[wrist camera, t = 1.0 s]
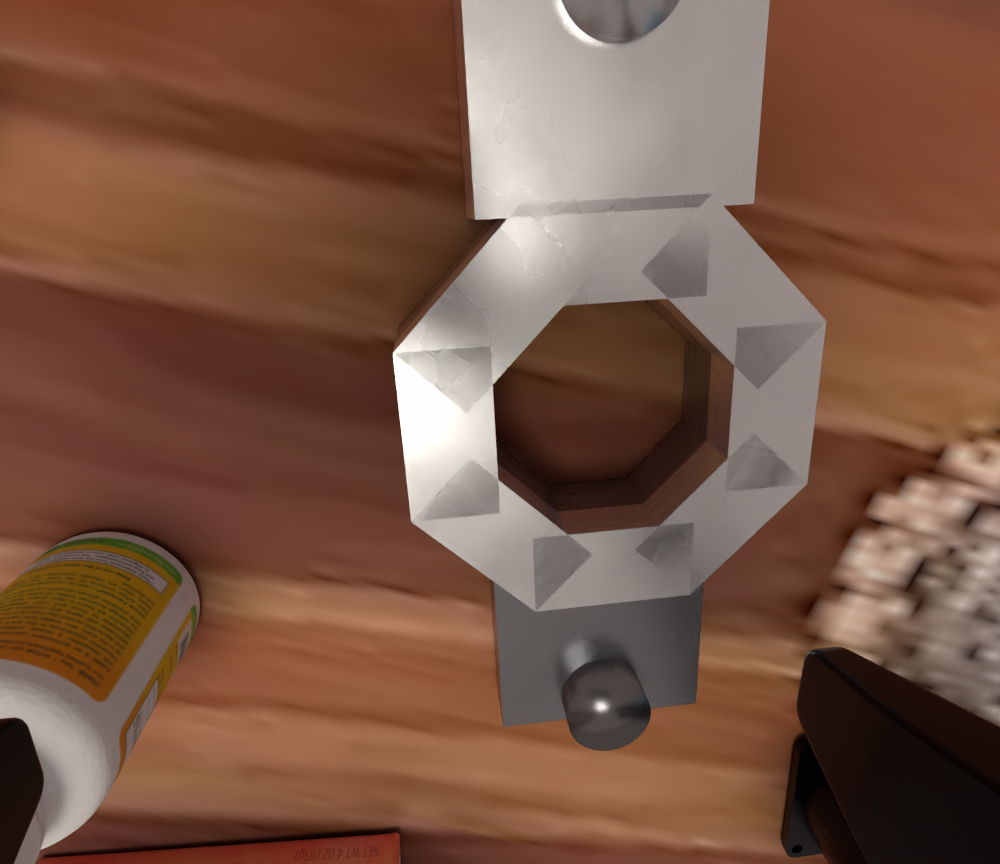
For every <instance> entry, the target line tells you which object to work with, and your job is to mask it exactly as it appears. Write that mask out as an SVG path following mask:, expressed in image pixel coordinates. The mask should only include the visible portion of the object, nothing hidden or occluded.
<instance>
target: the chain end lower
mask: <svg viewBox="0 0 1000 864" xmlns="http://www.w3.org/2000/svg"><path fill="white" fill-rule="evenodd" d="M499 219H500V218H499ZM499 219H491V220H490V221H489V222H488V223H487V224H486V225H485V227H484V228H483V229H482V230H481V231H480V233H479V234H478V235H477V236H476V237H475V238H474V240H473V241H472V242H471V243H470V244H469V246H468V247H467V248H466V249H465V250H464V251H463V253H462V254H461V255H460V256H459V257H458V259H457V260H456V261H455V262H454V263H453V265H452V266H451V267H450V268H449V269H448V270H447V272H446V273H445V274H444V275H443V276H442V278H441V279H440V280H439V281H438V282H437V283H436V285H435V286H434V287H433V288H432V289H431V291H430V292H429V293H428V294H427V295H426V296H425V298H424V299H423V300H422V301H421V302H420V304H419V305H418V306H417V307H416V308H415V309H414V311H413V312H412V313H411V314H410V315H409V317H408V318H407V319H406V320H405V321H404V322H403V324H402V325H401V326H400V327H399V328H398V332H397V337H396V340H397V339H398V338H399V337H400V335H401V334H402V333H403V332H404V331H405V330H406V328H407V327H408V326H409V325H410V324H411V323H412V321H413V320H414V319H415V318H416V317H417V315H418V314H419V313H420V312H421V311H422V310H423V308H424V307H425V306H426V305H427V304H428V302H429V301H430V300H431V299H432V298H433V297H434V295H435V294H436V293H437V292H438V291H439V290H440V288H441V287H442V286H443V285H444V284H445V282H446V281H447V280H448V279H449V278H450V277H451V275H452V274H453V273H454V272H455V271H456V269H457V268H458V267H459V266H460V265H461V264H462V262H463V261H464V260H465V259H466V258H467V257H468V255H469V254H470V253H471V252H472V251H473V249H474V248H475V247H476V246H477V245H478V244H479V242H480V241H481V240H482V239H483V238H484V236H485V235H486V234H487V233H488V232H489V231H490V229H491V228H492V227H493V226H494V225H495V224H496V222H497V221H498V220H499ZM646 301H647V302H648V303H649V304H650V305H651V306H652V307H653V308H654V309H655V310H656V311H657V312H658V313H659V314H660V315H661V316H662V317H663V318H664V319H665V320H666V321H667V322H668V323H669V324H670V325H671V326H672V327H673V328H674V329H675V330H676V331H677V332H678V333H679V334H680V335H681V336H682V337H683V338H684V339H685V340H686V345H685V367H684V389H683V410H682V421H681V422H680V423H679V424H678V425H677V426H676V427H675V428H674V429H673V430H672V431H671V432H670V433H669V434H668V435H667V436H666V437H665V438H664V439H663V440H662V441H661V442H660V443H659V444H658V445H657V446H656V447H655V448H654V449H653V451H652V452H651V453H650V454H649V455H648V456H647V457H646V458H645V459H644V460H643V461H642V462H641V463H640V464H639V465H638V466H637V467H636V468H635V469H634V470H633V471H632V472H631V473H630V474H629V475H628V476H627V477H626V478H623V479H612V480H601V481H591V482H580V483H569V484H558V485H546V484H544V483H543V482H542V481H541V480H539V479H538V478H537V477H536V476H534V475H533V474H532V473H531V472H529V471H528V470H527V469H526V468H525V467H523V466H522V465H521V464H520V463H518V462H517V461H516V460H515V459H513V458H512V457H511V456H510V455H508V454H507V453H506V452H505V451H504V450H502V449H501V448H500V447H499V446H497V445H496V450H497V463H498V464H499V465H500V466H501V467H503V468H504V469H505V470H506V471H508V472H509V473H510V474H511V475H513V476H514V477H515V478H516V479H518V480H519V481H520V482H521V483H523V484H524V485H525V486H526V487H528V488H529V489H530V490H531V491H533V492H534V493H535V494H536V495H538V496H539V497H540V498H541V499H543V500H544V501H545V502H546V503H548V504H549V505H550V506H551V507H553V508H554V509H555V510H556V511H558V512H561V511H571V510H582V509H592V508H603V507H613V506H623V505H634V504H644V503H645V502H646V501H647V500H648V499H649V498H650V497H651V496H652V495H653V494H654V493H655V492H656V491H657V490H658V489H659V488H660V487H661V486H662V485H663V484H664V483H665V482H666V481H667V480H668V479H669V478H670V477H671V476H672V475H673V474H674V473H675V472H676V471H677V470H678V469H679V468H680V467H681V466H682V465H683V464H684V463H685V462H686V461H687V460H688V459H689V458H690V457H691V456H692V455H693V454H694V453H695V452H696V451H697V450H698V449H699V448H700V447H701V446H702V445H703V444H704V443H705V442H706V437H707V420H708V404H709V387H710V370H711V353H710V352H709V351H708V350H707V349H706V348H705V347H704V346H703V345H702V344H701V343H700V342H699V341H698V340H697V339H696V338H695V337H694V336H693V335H692V334H691V333H690V332H689V331H688V330H687V329H686V328H685V327H684V326H683V325H682V324H681V323H680V322H679V321H678V320H677V319H676V318H675V317H674V316H673V315H672V314H671V313H670V312H669V311H668V310H667V309H666V308H665V307H664V306H663V305H662V304H661V303H660V302H659V301H658V300H657V299H654V300H646ZM490 582H491V597H492V612H493V627H494V642H495V658H496V673H497V687H498V694H499V701H500V708H501V715H502V721H503V727H506V726H514V725H522V724H530V723H538V722H546V721H554V720H562V719H567V721H568V725H569V729H570V732H571V734H572V736H573V737H574V739H575V740H576V741H577V742H578V743H580V744H581V745H583V746H585V747H587V748H589V749H593V750H601V751H606V750H613V749H617V748H621V747H623V746H626V745H628V744H629V743H631V742H633V741H634V740H635V739H637V738H638V737H639V736H640V735H641V734H642V733H643V731H644V730H645V729H646V727H647V725H648V723H649V720H650V715H651V708H659V707H668V706H676V705H684V704H692V703H696V691H697V676H698V660H699V644H700V629H701V613H702V597H703V583H702V584H701V585H700V586H699V587H698V588H697V589H695V590H694V591H693V592H692V593H691V594H690V595H684V596H675V597H666V598H657V599H648V600H638V601H629V602H620V603H611V604H602V605H593V606H583V607H574V608H565V609H556V610H547V611H538V612H535V611H534V610H532V609H531V608H530V607H528V606H527V605H526V604H524V603H523V602H521V601H520V600H519V599H517V598H516V597H514V596H513V595H512V594H510V593H509V592H508V591H506V590H505V589H503V588H502V587H501V586H499V585H498V584H496V583H495V582H494V581H492V580H491V579H490Z"/></svg>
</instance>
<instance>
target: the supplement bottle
mask: <svg viewBox="0 0 1000 864" xmlns="http://www.w3.org/2000/svg"><path fill="white" fill-rule="evenodd" d="M199 615H200V600H199V595H198V591H197V588H196V586H195V583H194V581H193V579H192V577H191V576H190V574H189V573H188V571H187V570H186V569H185V567H184V566H183V565H182V564H181V563H180V562H179V561H178V560H177V559H176V558H175V557H174V556H173V555H171V554H170V553H169V552H167V551H166V550H165V549H163V548H161V547H160V546H158V545H156V544H154V543H152V542H150V541H148V540H146V539H143V538H140V537H138V536H134V535H130V534H126V533H119V532H94V533H87V534H82V535H79V536H75V537H72V538H69V539H67V540H65V541H62V542H60V543H59V544H57V545H55V546H54V547H52V548H51V549H49V550H48V551H47V552H46V553H44V554H43V555H42V556H41V557H39V558H38V559H37V560H36V561H35V562H34V563H33V564H31V565H30V566H29V567H28V568H27V569H26V570H25V571H24V572H23V573H22V574H21V575H20V576H19V577H18V578H16V579H15V580H14V581H13V582H12V583H11V584H10V585H9V586H8V587H7V588H5V589H4V590H3V591H2V592H1V593H0V719H2V718H19V719H22V720H23V721H24V722H25V723H26V724H27V725H28V727H29V730H30V733H31V736H32V739H33V742H34V745H35V748H36V751H37V754H38V757H39V761H40V764H41V767H42V770H43V774H44V787H43V792H42V796H41V799H40V802H39V804H38V807H37V809H36V811H35V814H34V816H33V819H32V821H31V824H30V826H29V828H28V831H27V833H26V836H25V838H24V841H23V843H22V846H21V848H20V850H19V853H18V855H17V858H16V860H15V863H14V864H35V862H36V860H37V858H38V855H39V852H40V850H41V849H44V848H46V847H49V846H51V845H53V844H55V843H56V842H58V841H60V840H62V839H63V838H65V837H67V836H68V835H70V834H71V833H72V832H74V831H75V830H77V829H78V828H79V827H80V826H82V825H83V824H84V823H85V822H86V821H87V820H88V819H89V818H90V817H91V816H92V815H93V814H94V812H95V811H96V810H97V809H98V808H99V806H100V805H101V803H102V802H103V800H104V799H105V797H106V795H107V794H108V792H109V790H110V789H111V787H112V786H113V784H114V782H115V780H116V779H117V777H118V775H119V773H120V771H121V769H122V767H123V765H124V763H125V762H126V760H127V758H128V756H129V754H130V752H131V750H132V748H133V747H134V745H135V743H136V741H137V739H138V738H139V736H140V734H141V732H142V730H143V728H144V727H145V725H146V723H147V721H148V719H149V718H150V716H151V714H152V712H153V710H154V708H155V706H156V704H157V702H158V700H159V699H160V697H161V695H162V693H163V691H164V689H165V688H166V686H167V684H168V682H169V680H170V678H171V677H172V675H173V673H174V671H175V669H176V667H177V665H178V663H179V661H180V660H181V658H182V656H183V654H184V653H185V651H186V649H187V647H188V645H189V643H190V641H191V639H192V637H193V635H194V632H195V630H196V627H197V624H198V620H199Z"/></svg>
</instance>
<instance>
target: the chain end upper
mask: <svg viewBox="0 0 1000 864" xmlns="http://www.w3.org/2000/svg"><path fill="white" fill-rule="evenodd" d="M769 2H770V0H452V4H453V20H454V35H455V50H456V65H457V80H458V96H459V111H460V126H461V141H462V156H463V172H464V187H465V202H466V217H467V218H470V219H474V220H481V219H499V218H500V219H499V220H498V221H497V222H496V224H495V225H494V226H493V227H492V228H491V229H490V231H489V232H488V233H487V234H486V235H485V236H484V238H483V239H482V240H481V241H480V242H479V244H478V245H477V246H476V247H475V248H474V249H473V251H472V252H471V253H470V254H469V255H468V257H467V258H466V259H465V260H464V261H463V262H462V264H461V265H460V266H459V267H458V268H457V269H456V271H455V272H454V273H453V274H452V275H451V277H450V278H449V279H448V280H447V281H446V282H445V284H444V285H443V286H442V287H441V288H440V290H439V291H438V292H437V293H436V294H435V295H434V297H433V298H432V299H431V300H430V301H429V302H428V304H427V305H426V306H425V307H424V308H423V310H422V311H421V312H420V313H419V314H418V315H417V317H416V318H415V319H414V320H413V321H412V323H411V324H410V325H409V326H408V327H407V328H406V330H405V331H404V332H403V333H402V334H401V335H400V337H399V338H398V339H397V340H396V341H395V345H394V350H393V361H394V370H395V379H396V388H397V397H398V406H399V415H400V424H401V433H402V442H403V451H404V461H405V470H406V479H407V488H408V497H409V506H410V515H411V522H412V523H413V524H415V525H416V526H418V527H419V528H420V529H422V530H423V531H424V532H426V533H427V534H429V535H430V536H431V537H433V538H434V539H436V540H437V541H438V542H440V543H441V544H442V545H444V546H445V547H447V548H448V549H449V550H451V551H452V552H454V553H455V554H456V555H458V556H459V557H460V558H462V559H463V560H465V561H466V562H467V563H469V564H470V565H472V566H473V567H474V568H476V569H477V570H478V571H480V572H481V573H483V574H484V575H485V576H487V577H488V578H490V579H491V580H492V581H494V582H495V583H496V584H498V585H499V586H501V587H502V588H503V589H505V590H506V591H508V592H509V593H510V594H512V595H513V596H514V597H516V598H517V599H519V600H520V601H521V602H523V603H524V604H526V605H527V606H528V607H530V608H531V609H532V610H534V611H535V612H538V611H547V610H556V609H565V608H574V607H583V606H593V605H602V604H611V603H620V602H629V601H638V600H648V599H657V598H666V597H675V596H684V595H690V594H691V593H692V592H693V591H694V590H695V589H697V588H698V587H699V586H700V585H701V584H702V583H703V582H704V581H705V580H706V579H707V578H708V577H709V576H710V575H711V574H712V573H713V572H715V571H716V570H717V569H718V568H719V567H720V566H721V565H722V564H723V563H724V562H725V561H726V560H727V559H728V558H729V557H730V556H731V555H733V554H734V553H735V552H736V551H737V550H738V549H739V548H740V547H741V546H742V545H743V544H744V543H745V542H746V541H747V540H748V539H749V538H751V537H752V536H753V535H754V534H755V533H756V532H757V531H758V530H759V529H760V528H761V527H762V526H763V525H764V524H765V523H766V522H767V521H769V520H770V519H771V518H772V517H773V516H774V515H775V514H776V513H777V512H778V511H779V510H780V509H781V508H782V507H783V506H784V505H785V504H787V503H788V502H789V501H790V500H791V499H792V498H793V497H794V496H795V495H796V494H797V493H798V492H799V491H800V490H801V489H802V488H803V487H805V486H806V485H807V481H808V472H809V464H810V456H811V447H812V439H813V431H814V422H815V414H816V406H817V397H818V389H819V381H820V372H821V364H822V355H823V347H824V339H825V330H826V322H827V321H826V320H825V319H824V318H823V317H822V315H821V314H820V313H819V312H818V311H817V310H816V309H815V308H814V307H813V305H812V304H811V303H810V302H809V301H808V300H807V299H806V298H805V296H804V295H803V294H802V293H801V292H800V291H799V290H798V289H797V288H796V286H795V285H794V284H793V283H792V282H791V281H790V280H789V279H788V277H787V276H786V275H785V274H784V273H783V272H782V271H781V270H780V269H779V267H778V266H777V265H776V264H775V263H774V262H773V261H772V260H771V259H770V257H769V256H768V255H767V254H766V253H765V252H764V251H763V250H762V248H761V247H760V246H759V245H758V244H757V243H756V242H755V241H754V240H753V238H752V237H751V236H750V235H749V234H748V233H747V232H746V231H745V229H744V228H743V227H742V226H741V225H740V224H739V223H738V222H737V221H736V219H735V218H734V217H733V216H732V215H731V214H730V213H729V212H728V210H727V209H726V208H725V207H724V206H726V205H743V204H754V197H755V184H756V171H757V158H758V145H759V132H760V119H761V106H762V93H763V80H764V67H765V54H766V41H767V28H768V15H769ZM654 299H657V300H658V301H659V302H660V303H661V304H662V305H663V306H664V307H665V308H666V309H667V310H668V311H669V312H670V313H671V314H672V315H673V316H674V317H675V318H676V319H677V320H678V321H679V322H680V323H681V324H682V325H683V326H684V327H685V328H686V329H687V330H688V331H689V332H690V333H691V334H692V335H693V336H694V337H695V338H696V339H697V340H698V341H699V342H700V343H701V344H702V345H703V346H704V347H705V348H706V349H707V350H708V351H709V352H710V353H711V370H710V387H709V404H708V420H707V437H706V442H705V443H704V444H703V445H702V446H701V447H700V448H699V449H698V450H697V451H696V452H695V453H694V454H693V455H692V456H691V457H690V458H689V459H688V460H687V461H686V462H685V463H684V464H683V465H682V466H681V467H680V468H679V469H678V470H677V471H676V472H675V473H674V474H673V475H672V476H671V477H670V478H669V479H668V480H667V481H666V482H665V483H664V484H663V485H662V486H661V487H660V488H659V489H658V490H657V491H656V492H655V493H654V494H653V495H652V496H651V497H650V498H649V499H648V500H647V501H646V502H645V503H644V504H634V505H623V506H613V507H603V508H592V509H582V510H571V511H561V512H558V511H556V510H555V509H554V508H553V507H551V506H550V505H549V504H548V503H546V502H545V501H544V500H543V499H541V498H540V497H539V496H538V495H536V494H535V493H534V492H533V491H531V490H530V489H529V488H528V487H526V486H525V485H524V484H523V483H521V482H520V481H519V480H518V479H516V478H515V477H514V476H513V475H511V474H510V473H509V472H508V471H506V470H505V469H504V468H503V467H501V466H500V465H499V464H498V463H497V450H496V433H495V416H494V398H493V384H494V383H495V382H496V381H497V379H498V378H499V377H500V376H501V375H502V374H503V373H504V372H505V371H506V369H507V368H508V367H509V366H510V365H511V364H512V363H513V362H514V361H515V359H516V358H517V357H518V356H519V355H520V354H521V353H522V352H523V351H524V349H525V348H526V347H527V346H528V345H529V344H530V343H531V342H532V341H533V339H534V338H535V337H536V336H537V335H538V334H539V333H540V332H541V331H542V329H543V328H544V327H545V326H546V325H547V324H548V323H549V322H550V321H551V319H552V318H553V317H554V316H555V315H556V314H557V313H558V312H559V311H560V309H561V308H562V307H563V306H567V305H582V304H596V303H611V302H625V301H639V300H654Z"/></svg>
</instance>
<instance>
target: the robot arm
mask: <svg viewBox="0 0 1000 864" xmlns="http://www.w3.org/2000/svg"><path fill="white" fill-rule="evenodd" d="M797 712H798V717H799V720H800V723H801V726H802V728H803V730H804V732H805V734H806V736H807V737H804V738H801V739H800V740H798V742H797V743H796V744H795V747H794V754H793V761H792V769H791V776H790V784H789V791H788V799H787V807H786V814H785V822H784V829H783V837H782V846H783V848H784V850H785V851H786V853H787V855H788V856H790V857H802V856H809V855H816V854H822V853H823V855H824V857H825V858H826V860H827V862H828V863H829V864H1000V727H999V726H997V725H995V724H993V723H991V722H989V721H987V720H985V719H983V718H981V717H979V716H977V715H976V714H974V713H972V712H970V711H968V710H966V709H964V708H962V707H960V706H958V705H956V704H954V703H952V702H950V701H948V700H946V699H944V698H942V697H940V696H938V695H936V694H934V693H932V692H930V691H928V690H926V689H925V688H923V687H921V686H919V685H917V684H915V683H913V682H911V681H909V680H907V679H905V678H903V677H901V676H899V675H897V674H895V673H893V672H891V671H889V670H887V669H885V668H883V667H881V666H879V665H877V664H875V663H873V662H872V661H870V660H868V659H866V658H864V657H862V656H860V655H858V654H856V653H854V652H852V651H850V650H848V649H846V648H842V647H831V648H819V649H813V650H811V651H809V652H808V653H807V655H806V656H805V660H804V665H803V670H802V676H801V681H800V687H799V692H798V698H797ZM43 787H44V774H43V770H42V767H41V764H40V761H39V757H38V754H37V751H36V748H35V745H34V742H33V739H32V736H31V733H30V730H29V727H28V725H27V724H26V723H25V722H24V721H23V720H22V719H19V718H2V719H0V864H14V863H15V860H16V858H17V855H18V853H19V850H20V848H21V846H22V843H23V841H24V838H25V836H26V833H27V831H28V828H29V826H30V824H31V821H32V819H33V816H34V814H35V811H36V809H37V807H38V804H39V802H40V799H41V796H42V792H43Z"/></svg>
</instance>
